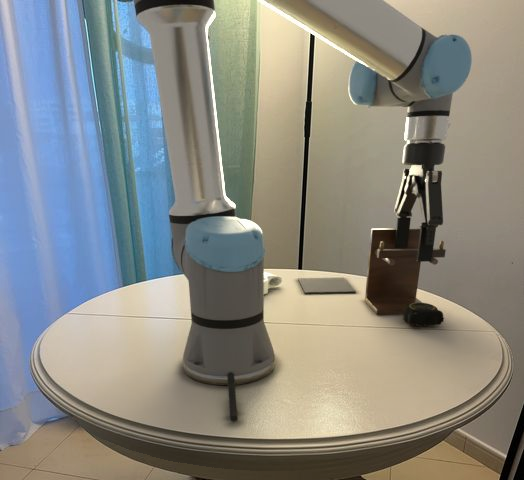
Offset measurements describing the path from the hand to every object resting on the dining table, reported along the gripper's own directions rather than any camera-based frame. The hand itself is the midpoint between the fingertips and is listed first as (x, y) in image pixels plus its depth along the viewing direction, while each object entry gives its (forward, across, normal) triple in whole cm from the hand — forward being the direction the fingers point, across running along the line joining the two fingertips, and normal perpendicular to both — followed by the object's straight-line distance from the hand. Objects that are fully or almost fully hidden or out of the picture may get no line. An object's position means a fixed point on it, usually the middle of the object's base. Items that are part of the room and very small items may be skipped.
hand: (411, 254), depth 95 cm
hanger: (+1, 0, 0) cm, 1 cm away
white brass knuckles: (+13, +25, +34) cm, 44 cm away
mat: (+13, +24, +13) cm, 30 cm away
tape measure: (+13, -7, -1) cm, 15 cm away
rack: (+13, +4, 0) cm, 14 cm away
